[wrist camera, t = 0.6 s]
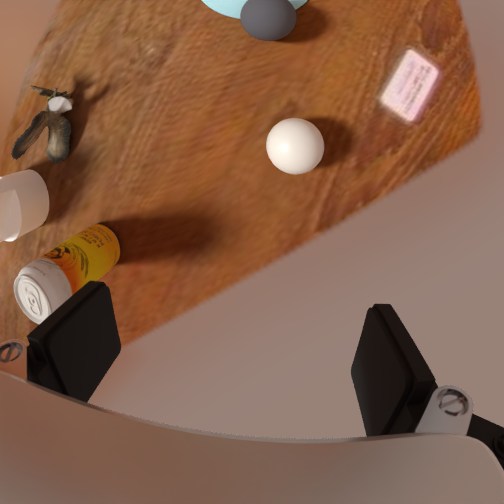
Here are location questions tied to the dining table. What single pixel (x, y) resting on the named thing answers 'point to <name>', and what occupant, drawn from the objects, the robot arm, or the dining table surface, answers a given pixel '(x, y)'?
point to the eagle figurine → (55, 123)
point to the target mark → (238, 6)
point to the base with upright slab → (22, 204)
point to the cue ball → (295, 146)
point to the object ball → (268, 18)
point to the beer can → (65, 271)
